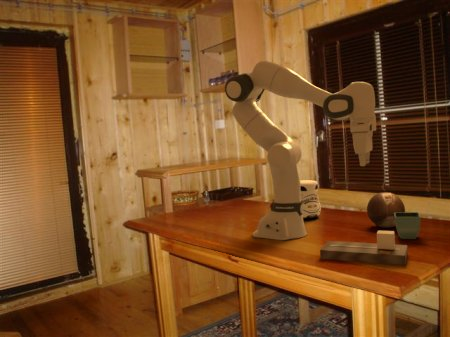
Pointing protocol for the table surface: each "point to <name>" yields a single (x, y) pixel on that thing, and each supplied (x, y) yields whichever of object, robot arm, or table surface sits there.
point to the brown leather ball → (384, 209)
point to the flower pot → (407, 224)
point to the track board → (363, 253)
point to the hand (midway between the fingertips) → (364, 164)
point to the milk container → (310, 199)
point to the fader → (386, 240)
